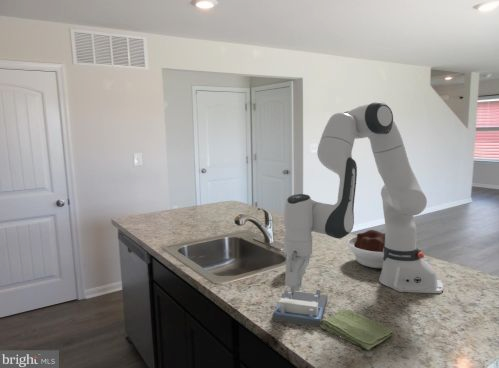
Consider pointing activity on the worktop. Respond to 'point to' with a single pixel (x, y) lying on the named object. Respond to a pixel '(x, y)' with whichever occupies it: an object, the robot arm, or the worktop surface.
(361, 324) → the washcloth
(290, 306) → the bar
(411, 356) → the worktop surface
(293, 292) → the board
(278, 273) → the worktop surface
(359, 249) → the chocolate pudding dish
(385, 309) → the worktop surface
